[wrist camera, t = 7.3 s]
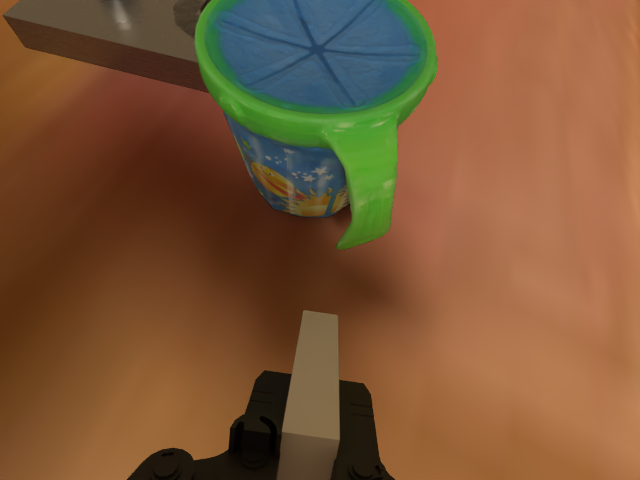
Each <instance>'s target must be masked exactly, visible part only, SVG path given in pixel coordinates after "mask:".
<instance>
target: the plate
mask: <svg viewBox="0 0 640 480" xmlns="http://www.w3.org/2000/svg"><path fill="white" fill-rule="evenodd" d="M210 1H211V0H20V1H19V2H17V3H16V4H15V5H14V6H13V7H12V8H10V9H9V10H8V11H7V12H6V13H4V14H3V17H4V18H5V19H6V21H7V22H8V24H9V25H10V27H11V28H12V29H13V31H14V32H15V34H16V35H17V36H18V38H19V39H20V41H21V42H22V44H23V45H24V46H25V47H27V48H31V49H35V50H39V51H43V52H47V53H51V54H55V55H59V56H63V57H67V58H71V59H75V60H79V61H83V62H87V63H91V64H95V65H99V66H103V67H107V68H111V69H115V70H120V71H124V72H128V73H132V74H136V75H140V76H144V77H148V78H152V79H156V80H160V81H164V82H168V83H172V84H176V85H180V86H184V87H188V88H192V89H196V90H200V91H204V92H208V93H209V91H208V89H207V87H206V85H205V83H204V81H203V79H202V75H201V72H200V68H199V65H198V60H197V55H196V50H195V30H196V24H197V22H198V19H199V16H200V15H201V13H202V11H203V10H204V8H205V7H206V5H207V4H208V3H209V2H210Z"/></svg>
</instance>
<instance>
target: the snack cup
mask: <svg viewBox="0 0 640 480" xmlns="http://www.w3.org/2000/svg"><path fill="white" fill-rule="evenodd" d="M195 50H196V55H197V60H198V65H199V68H200V72H201V75H202V79H203V81H204V83H205V85H206V87H207V89H208V91H209V93H210V94H211V96H212V97H213V99H214V100H215V101H216V103H217V104H218V105H219V106H220V107H221V108H222V109H223V111H224V115H225V117H226V120H227V122H228V125H229V127H230V129H231V132H232V134H233V137H234V139H235V142H236V144H237V146H238V149H239V151H240V154H241V156H242V158H243V160H244V163H245V165H246V168H247V170H248V173H249V175H250V177H251V179H252V181H253V182H254V184H255V186H256V188H257V189H258V191H259V192H260V194H261V195H262V196H263V198H264V199H265V200H266V201H267V202H268V203H269V204H270V206H271V207H272V208H273V209H274V210H281V211H284V212H286V213H289V214H292V215H295V216H302V217H323V218H326V217H328V216H331V215H334V214H335V213H336V212H338V211H339V210H341V209H342V208H344V207H345V206H347V205H348V204H350V210H351V217H352V221H351V223H350V224H349V226H348V228H347V229H346V231H345V233H344V234H343V235H342V237H341V238H340V240H339V241H338V243H337V244H336V248H337V249H338V250H340V249H349V248H351V247H354V246H357V245H360V244H363V243H366V242H369V241H372V240H374V239H377V238H379V237H381V236H383V235H384V234H385V233H387V232H388V231H389V229H390V225H391V213H392V204H393V197H394V191H395V185H396V177H397V169H396V166H397V148H398V142H397V129H398V126H399V125H400V124H401V123H402V122H404V121H405V120H406V119H407V118H408V117H409V116H410V115H411V114H412V113H413V112H414V110H415V109H416V107H417V106H418V104H419V103H420V102H421V100H422V98H423V97H424V95H425V93H426V90H427V88H428V86H429V85H430V84H431V83H432V82H433V80H434V78H435V75H436V72H437V62H438V60H437V56H436V45H435V41H434V37H433V35H432V32H431V30H430V28H429V26H428V24H427V22H426V21H425V20H424V18H423V16H422V15H421V14H420V13H419V12H418V10H417V9H415V7H414V6H413V5H412V4H410V3H409V2H408V1H407V0H211V1H210V2H209V3H208V4H207V5H206V7H205V8H204V10H203V11H202V13H201V15H200V16H199V19H198V22H197V24H196V30H195Z"/></svg>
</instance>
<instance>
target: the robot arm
mask: <svg viewBox="0 0 640 480" xmlns="http://www.w3.org/2000/svg"><path fill="white" fill-rule="evenodd" d="M127 480H395V479H394V478H393V477H392V476H390V475H389V474H388V472H387V471H386V469H385V466H384V465H383V464H382V463H381V461H380V457H379V451H378V444H377V436H376V429H375V422H374V414H373V409H372V400H371V394H370V393H369V391H368V389H367V388H366V386H365V385H364V383H357V382H350V381H343V380H339V355H338V315H335V314H328V313H321V312H314V311H307V310H303V315H302V321H301V326H300V332H299V338H298V343H297V349H296V354H295V360H294V366H293V371H292V374H287V373H280V372H273V371H266V370H265V371H264V372H263V373H262V374H261V375H260V376H259V377H258V378H257V379H256V381H255V384H254V387H253V390H252V393H251V396H250V400H249V403H248V406H247V409H246V412H245V414H244V415H242V416H240V417H239V418H237V419H236V420H235V421H234V423H233V424H232V426H231V427H230V438H229V449H228V450H227V451H225V452H224V453H222V454H220V455H218V456H215V457H211V458H207V459H200V460H193V458H192V456H191V454H189V453H188V452H186V451H185V450H183V449H177V448H169V449H162V450H160V451H158V452H156V453H154V454H152V455H150V456H149V457H148V458H147V459H146V460H144V461H143V462H142V463H141V464H140V466H139V467H138V468H137V469H136V470H135V471H134V472H133V473H132V475H131V476H130V477H129V478H128V479H127Z"/></svg>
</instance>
